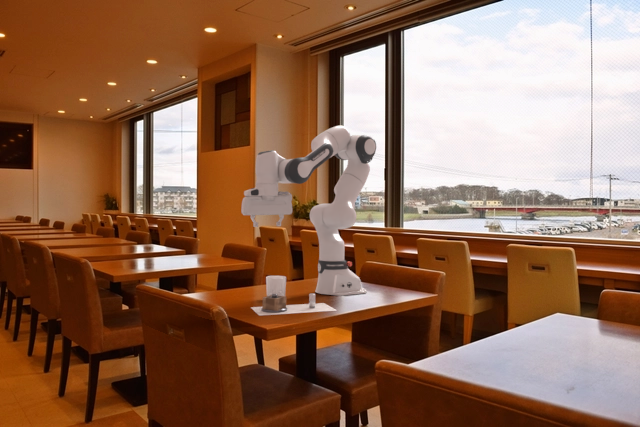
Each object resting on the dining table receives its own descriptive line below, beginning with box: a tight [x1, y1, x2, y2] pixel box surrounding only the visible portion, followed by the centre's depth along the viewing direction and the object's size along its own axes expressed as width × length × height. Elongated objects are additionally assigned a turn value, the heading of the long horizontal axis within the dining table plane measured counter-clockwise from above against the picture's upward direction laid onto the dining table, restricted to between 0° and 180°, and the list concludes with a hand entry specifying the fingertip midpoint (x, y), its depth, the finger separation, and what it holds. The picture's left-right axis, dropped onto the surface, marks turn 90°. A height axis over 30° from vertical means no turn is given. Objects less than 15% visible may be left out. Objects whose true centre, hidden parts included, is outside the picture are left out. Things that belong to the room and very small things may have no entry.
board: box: [250, 302, 338, 317], centre depth 183 cm, size 28×14×2 cm, turn 109°
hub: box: [261, 294, 287, 313], centre depth 180 cm, size 9×9×6 cm
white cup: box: [265, 275, 287, 296], centre depth 202 cm, size 8×8×10 cm
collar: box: [262, 295, 287, 311], centre depth 180 cm, size 6×6×4 cm
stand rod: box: [308, 293, 316, 308], centre depth 185 cm, size 2×2×5 cm
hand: (267, 226), depth 203 cm, fingers open, 8 cm apart
